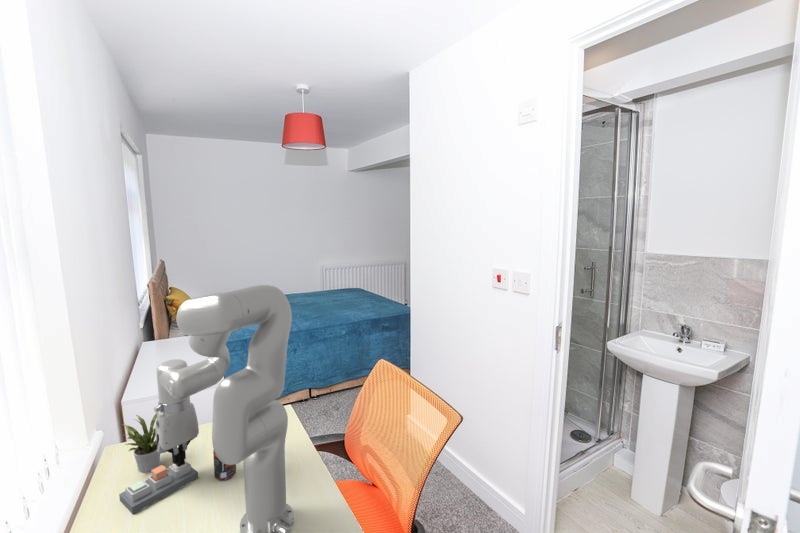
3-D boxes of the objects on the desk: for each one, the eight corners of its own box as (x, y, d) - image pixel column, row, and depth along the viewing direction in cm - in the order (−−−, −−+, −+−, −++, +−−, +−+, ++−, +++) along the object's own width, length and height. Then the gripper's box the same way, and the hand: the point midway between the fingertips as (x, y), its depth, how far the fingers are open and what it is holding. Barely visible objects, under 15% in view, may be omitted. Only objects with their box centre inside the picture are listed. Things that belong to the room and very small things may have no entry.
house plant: (178, 445, 131) (174, 399, 128) (182, 469, 119) (178, 418, 117) (126, 460, 123) (121, 411, 120) (125, 486, 111) (119, 433, 109)
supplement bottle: (228, 483, 113) (226, 446, 112) (210, 480, 115) (207, 443, 113) (240, 469, 119) (239, 434, 117) (223, 466, 120) (221, 432, 119)
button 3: (187, 471, 115) (187, 463, 115) (177, 476, 113) (177, 468, 113) (182, 467, 117) (182, 459, 116) (173, 472, 114) (172, 464, 114)
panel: (198, 478, 115) (197, 465, 115) (132, 514, 102) (131, 500, 101) (184, 467, 120) (183, 455, 119) (119, 500, 106) (118, 487, 106)
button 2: (167, 476, 111) (166, 468, 110) (156, 482, 108) (155, 474, 108) (162, 472, 112) (162, 464, 112) (152, 478, 110) (151, 470, 109)
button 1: (146, 493, 106) (145, 484, 106) (134, 499, 104) (133, 490, 104) (141, 488, 108) (140, 480, 108) (130, 494, 106) (129, 486, 105)
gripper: (152, 419, 104) (157, 483, 106) (207, 397, 116) (211, 455, 118) (139, 410, 108) (145, 472, 111) (194, 390, 120) (198, 446, 123)
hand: (179, 463), depth 115 cm, fingers closed
